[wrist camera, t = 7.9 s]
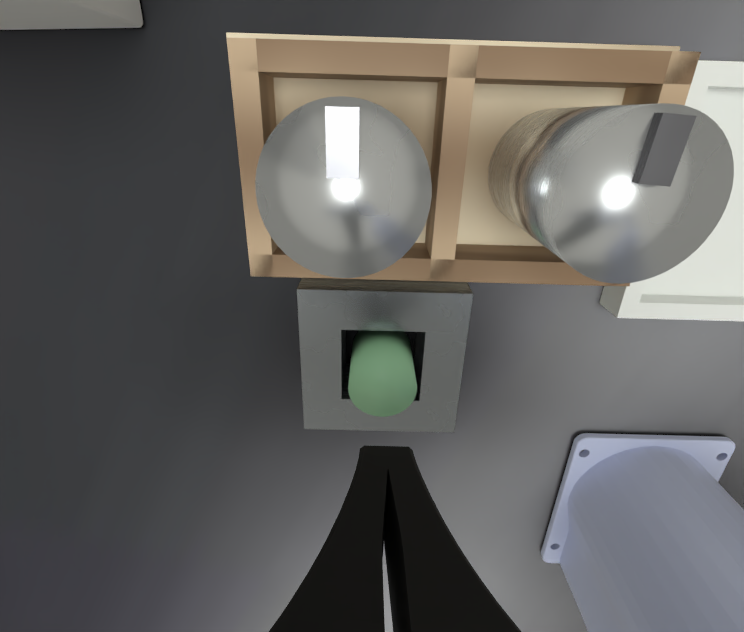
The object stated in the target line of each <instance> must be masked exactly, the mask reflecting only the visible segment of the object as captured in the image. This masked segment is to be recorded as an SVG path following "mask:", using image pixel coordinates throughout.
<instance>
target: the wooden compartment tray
mask: <svg viewBox="0 0 744 632" xmlns="http://www.w3.org/2000/svg"><path fill="white" fill-rule="evenodd" d="M226 36H227V46H228V55H229V65H230V75H231V85H232V95H233V105H234V115H235V125H236V135H237V145H238V154H239V164H240V174H241V184H242V194H243V204H244V214H245V224H246V234H247V244H248V253H249V263H250V273H251V276H260V277H298V278H335V279H372V280H409V281H447V282H484V283H521V284H558V285H596V286H630V283H623V284H617V283H606V282H600V281H597V280H593V279H591V278H589V277H586V276H584V275H582V274H581V273H579V272H578V271H576V270H575V269H574V268H572V267H571V266H570V265H568V264H567V263H566V262H564V261H563V260H562V259H560V258H559V257H558V256H557V255H555V254H554V253H553V252H551V251H550V250H549V249H547V248H546V247H545V246H543V245H542V244H541V243H540V242H538V241H537V240H536V239H534V238H533V237H532V236H530V235H529V234H528V233H526V232H525V231H524V230H522V229H521V228H520V227H519V226H517V225H516V224H515V223H513V222H512V221H511V220H509V219H508V218H507V217H506V216H504V215H503V214H502V213H501V212H500V210H499V209H498V208H497V207H496V205H495V203H494V202H493V199H492V197H491V194H490V190H489V184H488V171H489V164H490V161H491V157H492V154H493V152H494V150H495V148H496V146H497V144H498V142H499V141H500V139H501V138H502V136H503V135H504V134H505V133H506V132H507V130H508V129H509V128H510V127H511V126H513V125H514V124H515V123H516V122H518V121H519V120H520V119H522V118H523V117H525V116H527V115H529V114H531V113H534V112H536V111H540V110H544V109H551V108H571V107H593V106H615V105H637V104H659V103H668V104H679V105H685V102H686V99H687V96H688V93H689V89H690V86H691V83H692V80H693V76H694V73H695V70H696V66H697V63H698V60H699V57H700V53H701V52H686V51H679V49H680V46H648V45H615V44H583V43H550V42H517V41H484V40H452V39H419V38H386V37H353V36H321V35H288V34H255V33H226ZM338 96H346V97H356V98H360V99H364V100H368V101H370V102H373V103H375V104H378V105H380V106H382V107H383V108H385V109H387V110H389V111H390V112H392V113H393V114H394V115H395V116H397V117H398V118H399V119H401V120H402V121H403V122H404V124H405V125H406V126H407V127H408V128H409V129H410V130H411V131H412V133H413V134H414V136H415V137H416V138H417V140H418V142H419V143H420V145H421V147H422V149H423V151H424V154H425V156H426V159H427V162H428V166H429V170H430V174H431V183H432V198H431V205H430V211H429V214H428V218H427V221H426V223H425V226H424V228H423V230H422V232H421V234H420V236H419V237H418V239H417V241H416V242H415V243H414V245H413V246H412V247H411V249H410V250H409V251H408V252H407V253H406V254H405V255H404V256H403V257H402V258H400V259H399V260H398V261H396V262H395V263H394V264H392V265H391V266H389V267H387V268H385V269H383V270H381V271H379V272H377V273H374V274H370V275H367V276H363V277H356V278H336V277H330V276H325V275H321V274H318V273H316V272H313V271H311V270H309V269H307V268H304V267H303V266H301V265H299V264H298V263H296V262H295V261H293V260H292V259H291V258H290V257H289V256H287V255H286V254H285V253H284V252H283V251H282V250H281V249H280V248H279V247H278V246H277V244H276V243H275V242H274V240H273V239H272V238H271V236H270V234H269V233H268V231H267V229H266V227H265V225H264V223H263V220H262V218H261V216H260V212H259V209H258V205H257V199H256V190H255V179H256V169H257V165H258V161H259V157H260V154H261V152H262V149H263V146H264V144H265V143H266V141H267V139H268V137H269V135H270V134H271V133H272V131H273V130H274V129H275V127H276V126H277V125H278V124H279V123H280V122H281V121H282V120H283V119H284V118H285V117H286V116H287V115H289V114H290V113H291V112H293V111H294V110H295V109H297V108H299V107H301V106H303V105H305V104H307V103H309V102H312V101H315V100H318V99H322V98H327V97H338Z"/></svg>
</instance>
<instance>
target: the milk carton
mask: <svg viewBox="0 0 744 632" xmlns="http://www.w3.org/2000/svg"><path fill="white" fill-rule="evenodd" d="M142 25H143V18H142V12H141V6H140V1H139V0H0V30H27V29H92V28H140V27H141V26H142Z"/></svg>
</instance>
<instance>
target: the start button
mask: <svg viewBox="0 0 744 632" xmlns="http://www.w3.org/2000/svg"><path fill="white" fill-rule="evenodd" d="M348 392H349V396H350V399H351V400H352V402H353V403H354V405H355V406H356V407H357V408H358V409H360V410H361V411H363V412H365V413H367V414H369V415H373V416H379V417H386V416H392V415H395V414H398V413H400V412H402V411H404V410H405V409H406V408H408V407H409V406H410V405H411V403H412V402H413V401H414V399H415V396H416V393H417V383H416V376H415V370H414V364H413V357H412V351H411V345H410V340H409V338H408V336H407V334H406V333H405V332H404V331H371V330H360V331H359V332H358V333H357V334H356V336H355V337H354V340H353V343H352V353H351V363H350V373H349V384H348Z"/></svg>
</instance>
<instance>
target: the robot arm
mask: <svg viewBox="0 0 744 632" xmlns="http://www.w3.org/2000/svg"><path fill="white" fill-rule="evenodd" d="M582 450H584V451H582ZM734 450H735V443H734V442H733V441H732V440H731V439H729V438H728V437H717V436H676V435H636V434H595V433H584V434H580V435H578V436H577V437H576V438H575V439H574V442H573V445H572V448H571V452H570V455H569V459H568V462H567V465H566V469H565V472H564V476H563V479H562V482H561V486H560V489H559V493H558V496H557V499H556V503H555V506H554V510H553V513H552V516H551V520H550V523H549V526H548V530H547V533H546V537H545V540H544V543H543V547H542V550H541V556H542V559H543V560H544V561H545V562H547V563H560V565H561V567H562V570H563V572H564V575H565V577H566V579H567V582H568V584H569V587H570V589H571V592H572V594H573V596H574V599H575V601H576V604H577V606H578V608H579V611H580V613H581V616H582V618H583V621H584V623H585V625H586V628H587V630H588V632H744V509H743V508H742V507H741V506H740V505H739V504H738V503H737V502H736V501H735V500H734V499H733V498H732V497H731V496H730V495H729V493H728V492H727V491H726V490H725V489H724V488H723V487H722V486H721V485H720V484H719V483H718V481H719V479H720V477H721V475H722V473H723V471H724V469H725V467H726V465H727V463H728V461H729V460H730V458H731V456H732V454H733V452H734ZM580 451H582V452H580ZM383 544H385V554H386V564H387V574H388V584H389V593H390V603H391V613H392V622H393V632H521V631H520V629H519V628H518V627H517V626H516V625H515V623H514V622H513V621H512V620H511V618H510V617H509V616H508V615H507V613H506V612H505V611H504V610H503V609H502V607H501V606H500V605H499V604H498V602H497V601H496V600H495V598H494V597H493V595H492V594H491V593H490V591H489V590H488V589H487V587H486V586H485V585H484V583H483V582H482V580H481V579H480V578H479V576H478V575H477V573H476V572H475V570H474V569H473V567H472V566H471V564H470V563H469V561H468V560H467V558H466V557H465V555H464V554H463V552H462V551H461V549H460V547H459V546H458V544H457V542H456V541H455V539H454V537H453V536H452V534H451V532H450V531H449V529H448V527H447V526H446V524H445V522H444V520H443V518H442V517H441V515H440V513H439V511H438V509H437V507H436V505H435V503H434V501H433V499H432V497H431V495H430V493H429V491H428V489H427V487H426V485H425V482H424V480H423V478H422V476H421V473H420V471H419V468H418V466H417V463H416V460H415V457H414V454H413V451H412V449H410V448H409V447H395V446H363V447H362V448H361V449H360V454H359V459H358V464H357V467H356V471H355V474H354V477H353V480H352V483H351V486H350V488H349V491H348V493H347V496H346V498H345V501H344V503H343V506H342V508H341V510H340V513H339V515H338V517H337V519H336V521H335V523H334V525H333V527H332V529H331V532H330V534H329V536H328V538H327V540H326V542H325V544H324V545H323V547H322V549H321V551H320V553H319V555H318V556H317V558H316V560H315V562H314V563H313V565H312V567H311V569H310V570H309V572H308V574H307V575H306V577H305V579H304V580H303V582H302V583H301V585H300V587H299V588H298V590H297V591H296V593H295V595H294V596H293V598H292V599H291V601H290V602H289V604H288V605H287V607H286V608H285V610H284V611H283V613H282V614H281V616H280V617H279V618H278V620H277V621H276V623H275V624H274V625H273V627H272V628H271V629H270V631H269V632H385V628H384V600H383V570H382V557H383Z"/></svg>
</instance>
